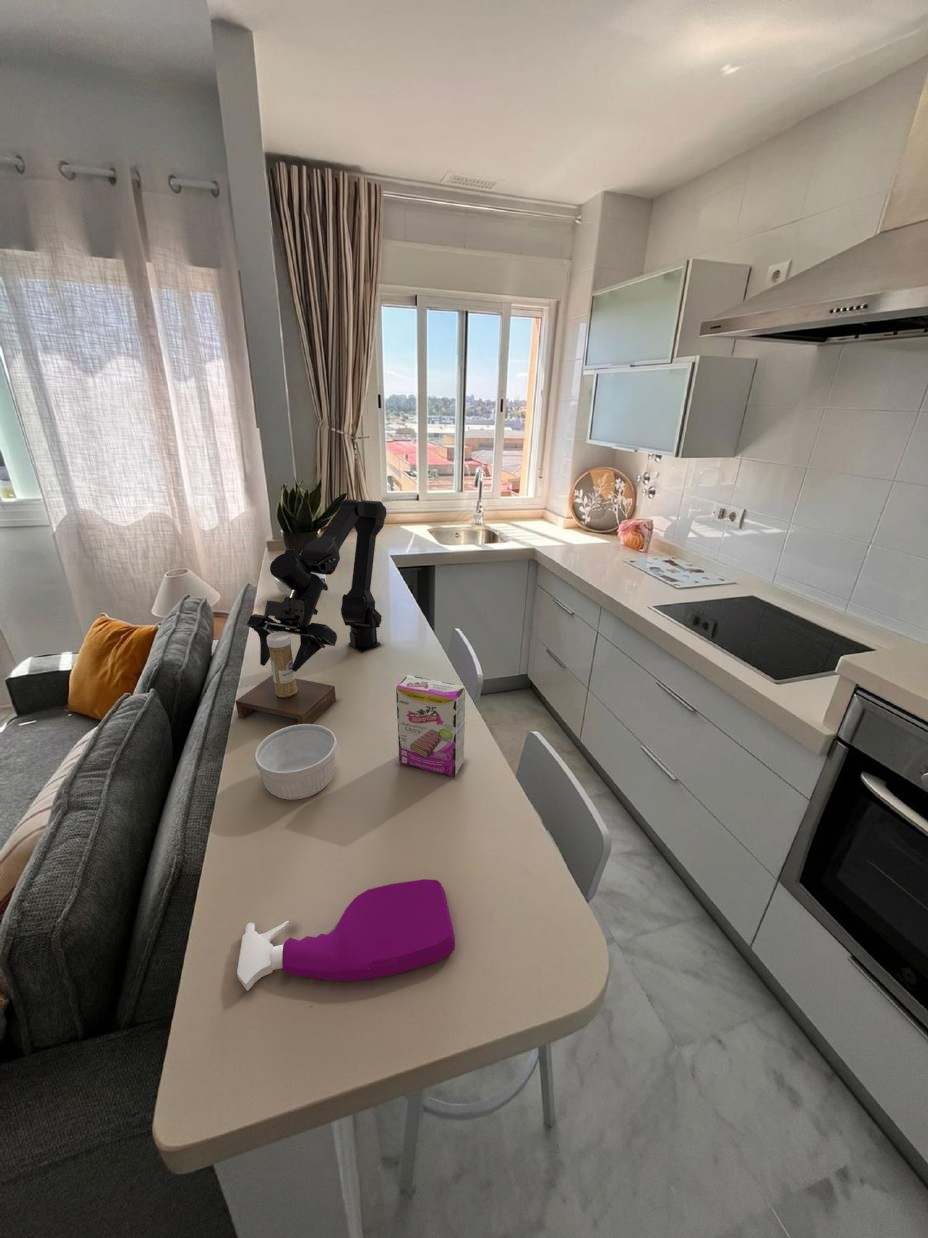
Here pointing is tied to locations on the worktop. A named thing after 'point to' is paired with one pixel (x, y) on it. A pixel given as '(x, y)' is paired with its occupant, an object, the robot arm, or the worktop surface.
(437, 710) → the candy bar box
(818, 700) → the worktop surface
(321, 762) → the ramekin
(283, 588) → the cereal bowl
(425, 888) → the spray bottle
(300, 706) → the shelf
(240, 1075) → the worktop surface
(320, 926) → the worktop surface
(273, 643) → the sprinkles bottle
